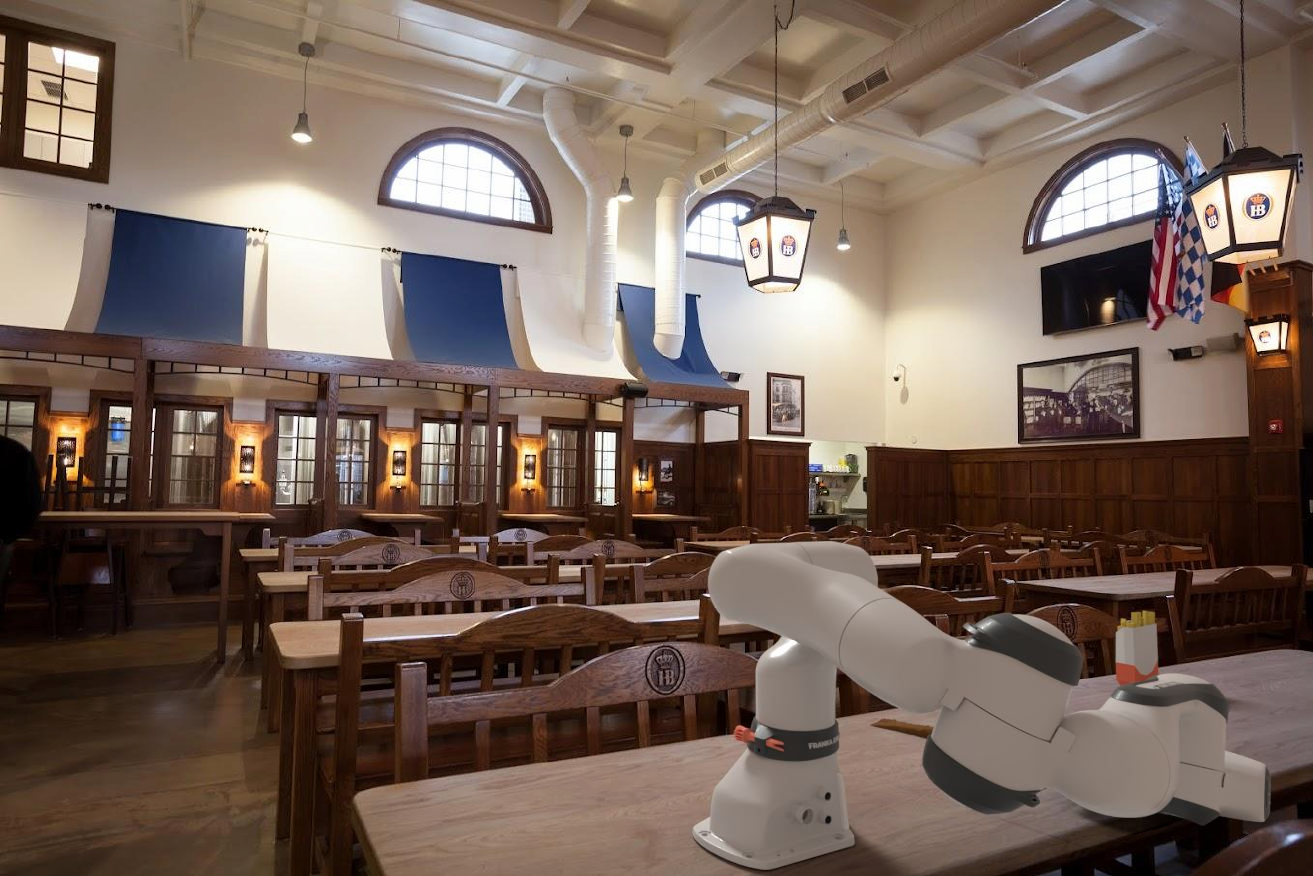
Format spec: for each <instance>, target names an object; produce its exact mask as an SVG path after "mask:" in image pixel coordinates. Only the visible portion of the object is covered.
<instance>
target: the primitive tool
mask: <svg viewBox="0 0 1313 876" xmlns="http://www.w3.org/2000/svg"><path fill="white" fill-rule="evenodd" d="M869 726H871V727H875V728H879V729H884V730H889V731H894V732H899V733H903V734H909V735H911V736H918V737H920V738H921V737H922V738H926V739H927V736H928V735H930V734H932V731H933V728H934V726H930V725H924V724H923V725H922V724H919V723H918V724H916V723H910V722H909V723H908V722H905V721H899V720H896V719H890V718H885V717H884V718H881V719H880V720H878V721H877V722H873V723H871V724H870V725H869Z"/></svg>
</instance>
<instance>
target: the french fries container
mask: <svg viewBox="0 0 1313 876" xmlns="http://www.w3.org/2000/svg"><path fill="white" fill-rule="evenodd" d="M1130 614H1131V615H1130V616H1131V617H1130V619H1131V620H1130V621H1128V620H1127V619H1126V618H1120V625H1118V626H1117V627H1116V628H1117V631H1116V632H1115V679H1116V681H1117V683H1118V685H1120V686H1122V685H1125V684H1129V683H1134V682H1139V681H1144V680H1147V679H1149V678H1150V677H1152V676H1154V675H1159V655H1158V654H1159V653H1158V651H1159V650H1158V632H1157V623H1156V622H1155V621H1156V613H1155V611H1154V612H1153V611H1147V610H1142V612H1140V611H1137V612H1133V611H1132V612H1131V613H1130Z"/></svg>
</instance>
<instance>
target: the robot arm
mask: <svg viewBox="0 0 1313 876" xmlns="http://www.w3.org/2000/svg"><path fill="white" fill-rule="evenodd" d="M709 569H710V570H709V573H708V576H707V577H708V578H707V589H708V594H709V597H710V600H711V603H712V605H713V606H714V608H715V610H716V611H717V612H718V614H719V615H721V616H722V618H724V619H726V620H729V621H733V622H737V623H743V624H747V625H751V626H754V627H758V628H761V629H763V630H766V631H768V632H771V633H773V634H777V635H779V636H780V638H779V639H778V641H776V643H775V644H774V645H772V646H771V647H770V648H768V649H767V650H765V651H764V652H763V653H762V654H761V656H760V657H759V658H758V661H757V663H756V667H755V716H754V717H753V719H752V721H751V726H750V728H748V727H745V726H743V725H737V726H736V727H735V730H733V738H734V739H735V740H736V741H738V742H743V743H744V744H746V747H747V748H746V750H745V751H744V752H743V753H742V754H741V755H740V757H739V758H738V760H736V762H735V763H734V765H732V767H731V768H730V770H728V771H727V773H726V774H725V775H724V776H723V778H722V779H721V780H720V781H719V782H718V784H717V785H716V786H715V787H714V789H713V793H712V795H711V796H712V797H711V804H710V815H709V816H708V817H707V818H705V819H704V820H702V821H700V822H698V823H696V824H694V826H693V827H692V835H693V836H692V837H693V839H694V840H695V841H696V842H697V843H698V844H699V845H700V846H702V847H703V848H704V849H706V850H707V851H709V852H711V853H713V854H715V855H717V856H718V857H721V858H723V859H725V860H727V861H729V862H732V863H736V864H737V865H741V866H744V867H747V868H752V869H756V870H763V871H764V870H765V871H767V870H773V869H777V868H781V867H784V866H788V865H792V864H794V863H798V862H801V861H804V860H808V859H811V858H814V857H818V856H822V855H825V854H830V853H833V852H835V851H839V850H843V849H847V848H850V847H853V846H854V845H855V844H856V842H855V835H854V833H853V831H852V830H851V828H850V824H849V818H848V817H849V816H848V808H847V797H846V791H845V790H846V789H845V780H844V776H843V773H842V770H841V767H840V763H839V760H838V754H837V752H838V750H839V749H840V739H841V736H840V733H841V732H840V731H839V730H840V727H839V722H838V720H837V719H836V689H837V683H836V682H837V669H838V670H840V672H843V673H844V674H845V675H846V676H847V677H849V678H850V679H851V680H852V681H854V683H856V684H857V685H858V686H860V687H862V688H863V689H865V690H866V691H867V692H869V693H870V694H872V695H873V696H875V697H877V698H879V699H880V700H882V701H883V702H885V703H888V704H890V705H891V706H893V707H896V708H898V709H900V710H902V711H905V712H907V713H911V714H917V715H923V714H929V713H932V712H935V711H938V710H939V711H938V715H937V716H936V719H935V722H934V725H933V727H934V728H933V731H932V734H930V735H928V736H927V738H926V741H925V743H924V747H923V748H924V749H923V753H922V762H921V765H922V767H923V769H924V772H925V774H926V776H927V778H928V779H929V780H930V781H931V782H932V783H933V784H934V785H935V786H936V787H937V788H938V789H939V790H940V792H941V793H942V794H943V795H944V796H946V797H948V799H949V800H951V801H953V802H954V803H956V804H957V805H959V806H961V807H964V808H966V809H969V810H972V811H976V812H978V813H981V814H984V815H989V816H990V815H1001V814H1007V813H1012V812H1014V811H1016V810H1018V809H1020V808H1021V807H1023V806H1027V807H1030V808H1036V807H1037V806H1038V805H1040V804H1041V801H1040V798H1039V797H1038V796H1037V794H1038V793H1040V792H1041V791H1040V789H1043V788H1045V789H1051V790H1054V791H1056V792H1057V793H1059V794H1060V795H1063V796H1064V797H1066V798H1067V799H1069V800H1070V801H1072V802H1073V803H1076V804H1077V805H1079V806H1080V807H1082V808H1084V809H1087V810H1088V811H1091V812H1094V813H1097V814H1100V815H1104V816H1108V817H1115V818H1124V819H1125V818H1128V819H1129V818H1132V819H1133V818H1136V819H1137V818H1143V817H1148V816H1151V815H1154V814H1160V815H1167V816H1169V815H1171V816H1175V817H1178V818H1181V819H1185V820H1187V821H1190V822H1192V823H1195V824H1197V825H1199V826H1202V827H1204V826H1206V825H1208V824H1209V823H1211V822H1212V821H1214V820H1215V819H1218V817H1219V816H1220V817H1224V818H1231V819H1234V820H1236V819H1237V820H1241V821H1247V822H1248V821H1249V822H1257V823H1258V822H1259V823H1263V822H1265V821H1266V820H1267V819H1268V817H1269V816H1270V812H1271V795H1272V794H1271V791H1272V790H1271V789H1272V784H1271V781H1272V779H1271V772H1270V770H1269V769H1268V767H1267V765H1266V764H1265V763H1264V762H1260V761H1258V760H1255V759H1253V758H1250V757H1247V756H1245V755H1241V754H1237V753H1235V752H1231V751H1228V750H1226V739H1227V724H1228V720H1229V712H1230V705H1231V703H1230V702H1229V700H1228V699H1227V697H1226V696H1225V695H1224V693H1223V692H1222V691H1221V690H1220V689H1219V688H1218V687H1217V686H1216V685H1215V684H1214V683H1210V682H1209V681H1207V680H1205V679H1203V678H1201V677H1197V676H1193V675H1189V674H1185V673H1175V672H1174V673H1173V672H1170V673H1169V672H1168V673H1161V674H1158V675H1154V676H1152V677H1150V678H1149V679H1147V680H1144V681H1139V682H1134V683H1129V684H1125V685H1122V686H1121V685H1120V686H1117V688H1115V689H1114V691H1113V692H1112V693H1111V694H1110V697H1109V698H1108V699H1107V700H1106V702H1105V703H1104V704H1103V705H1102V706H1101V707H1100V708H1099V709H1086V710H1080V711H1075V712H1072V713H1068V714H1066V715H1065V713H1066V712H1067V708H1068V705H1069V702H1070V699H1071V695H1072V692H1073V688H1074V687H1078V685H1079V681H1080V678H1081V674H1082V670H1083V663H1084V657H1083V655H1082V653H1081V651H1080V649H1079V647H1078V645H1077V646H1076V645H1075V644H1073V642H1072V641H1071V640H1070V639H1069V638H1068V636H1067V635H1065V633H1064V632H1062V631H1061V629H1059V628H1058V627H1057V626H1055V625H1053V624H1052V623H1050V622H1048V621H1046V620H1044V619H1042V618H1040V617H1036V616H1032V615H1028V614H1019V613H1018V614H1013V613H1011V612H1002V613H997V614H991V615H988V616H987V617H985V618H983V619H981V620H980V621H978V622H976V623H972V622H969V621H967V622H965V623H964V624H963V625H962V628H963V629H965V630H967V631H968V632H969V633H970V634H972V635H971V636H969V637H966V638H964V639H960V638H957V637H954V636H951V635H949V634H947V633H946V632H943V631H942V630H941V629H939V628H938V627H937V626H936V625H934V624H932V623H931V622H930V621H929V620H928V619H926V618H925V617H924V616H923V615H921V614H920V613H918V612H917V611H916V610H914V609H913V608H911V607H910V606H908V605H907V604H906V603H904V602H902V601H901V600H899V599H897V598H896V597H894V596H893V595H891V594H889V593H888V592H887V591H885V590H882V589H881V588H879V587H878V585H879V584H878V583H879V582H878V581H879V577H878V572H877V568H876V565H875V562H874V561H873V559H872V557H871V556H870V554H869V553H868V552H867V551H866V550H865V549H863V548H862V547H860V546H857V545H852V544H848V543H843V542H838V541H833V540H829V541H827V540H826V541H823V540H822V541H821V540H820V541H793V542H775V543H774V542H771V543H770V542H769V543H765V542H764V543H750V544H745V545H741V546H737V547H734V548H733V547H732V548H730V549H726V550H723V551H721V552H720V553H718V554H717V556H716V557H715V559H714V561H713V562H712V563H711V566H710V568H709ZM1043 790H1044V789H1043Z"/></svg>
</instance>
